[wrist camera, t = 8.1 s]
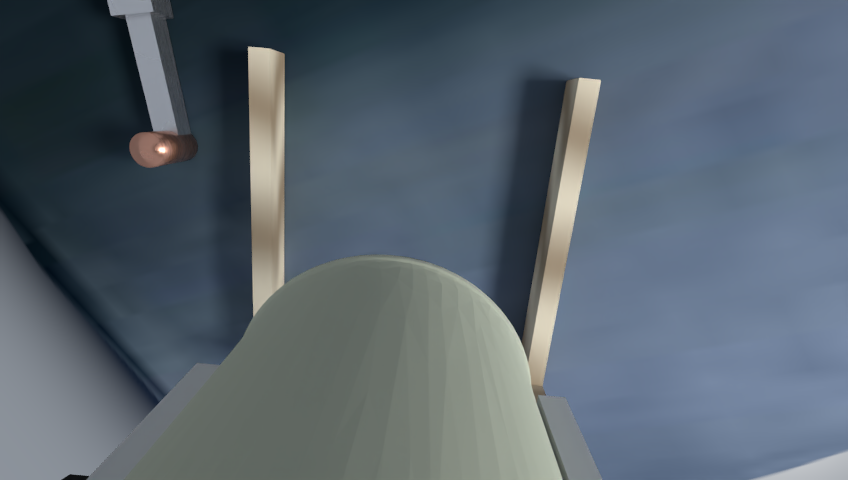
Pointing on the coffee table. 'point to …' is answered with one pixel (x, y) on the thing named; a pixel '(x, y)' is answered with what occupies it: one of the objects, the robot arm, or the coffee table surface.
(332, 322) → the can
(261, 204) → the wooden frame
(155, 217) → the coffee table surface
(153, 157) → the crank handle
